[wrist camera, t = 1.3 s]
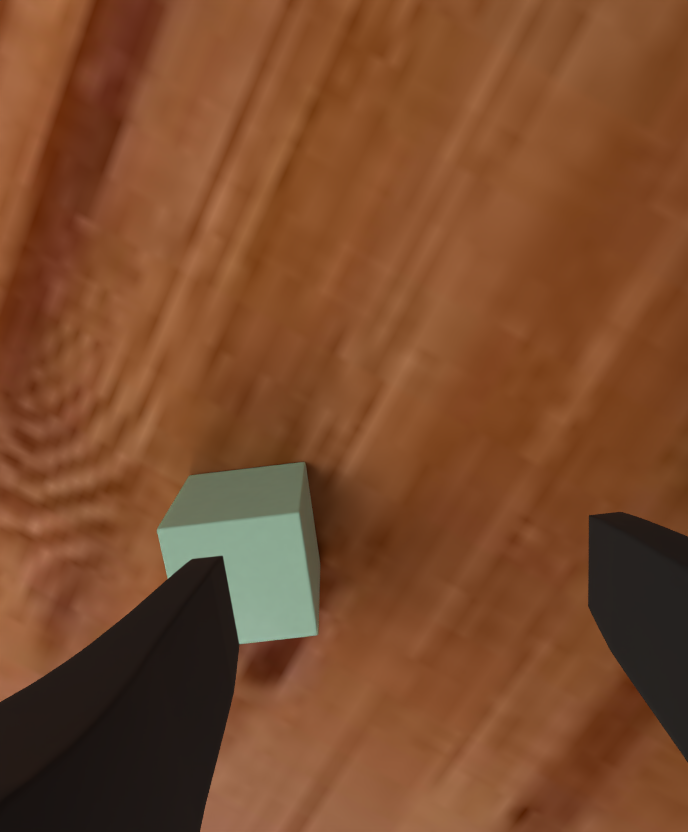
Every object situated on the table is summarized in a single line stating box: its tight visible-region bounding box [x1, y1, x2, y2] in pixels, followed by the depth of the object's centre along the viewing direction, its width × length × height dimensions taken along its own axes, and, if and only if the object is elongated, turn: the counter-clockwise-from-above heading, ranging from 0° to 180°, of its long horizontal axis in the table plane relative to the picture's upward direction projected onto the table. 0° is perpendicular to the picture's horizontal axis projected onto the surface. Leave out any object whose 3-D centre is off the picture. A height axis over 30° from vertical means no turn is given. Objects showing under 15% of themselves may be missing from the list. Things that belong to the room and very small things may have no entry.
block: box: [157, 462, 320, 644], centre depth 19 cm, size 4×4×4 cm
